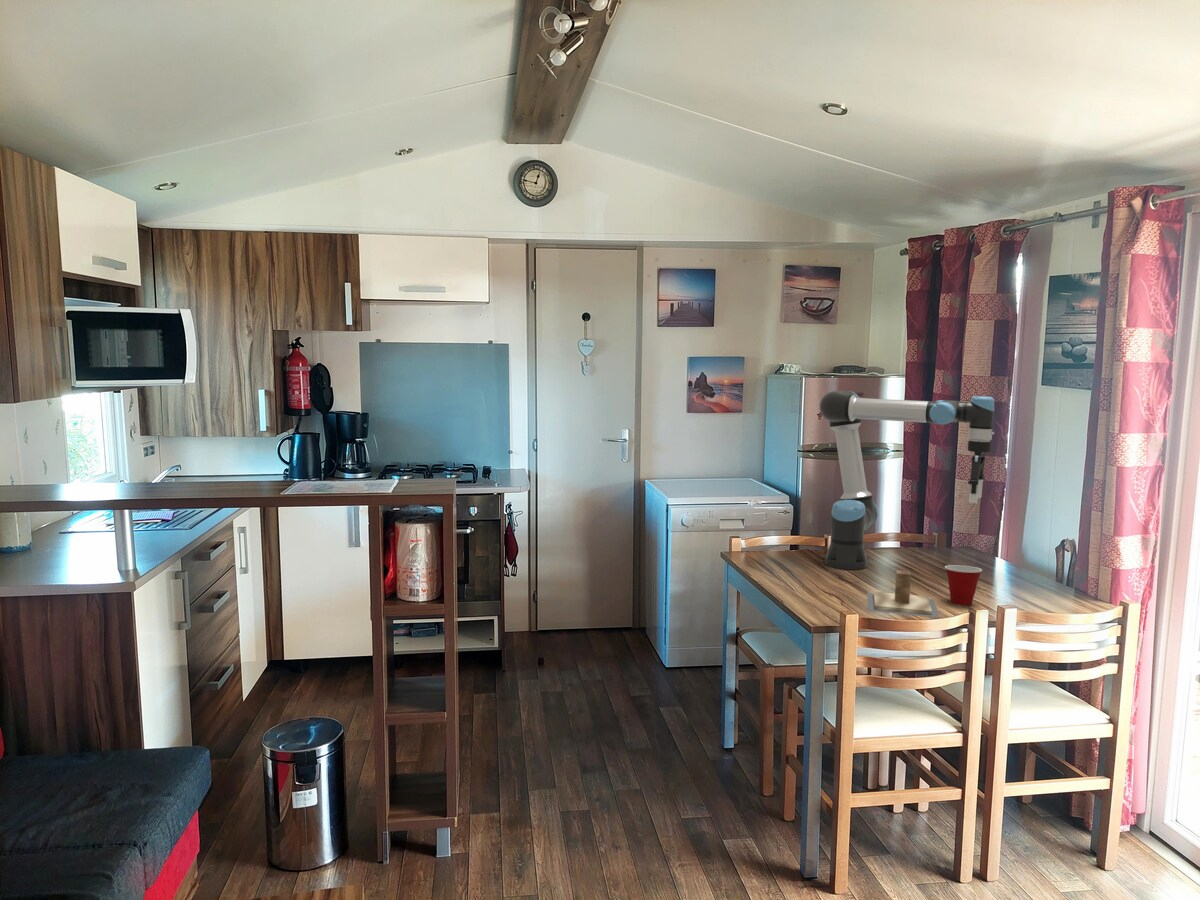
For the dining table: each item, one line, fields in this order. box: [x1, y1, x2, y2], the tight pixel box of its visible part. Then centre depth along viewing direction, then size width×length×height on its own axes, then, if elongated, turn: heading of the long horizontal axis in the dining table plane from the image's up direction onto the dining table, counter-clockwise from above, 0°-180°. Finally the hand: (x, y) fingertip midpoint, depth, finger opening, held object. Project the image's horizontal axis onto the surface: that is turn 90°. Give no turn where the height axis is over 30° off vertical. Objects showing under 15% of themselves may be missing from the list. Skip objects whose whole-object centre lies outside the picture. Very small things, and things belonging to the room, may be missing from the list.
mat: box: [866, 592, 941, 619], centre depth 255 cm, size 20×20×1 cm
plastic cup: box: [944, 564, 983, 606], centre depth 258 cm, size 11×11×12 cm
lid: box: [873, 569, 932, 615], centre depth 254 cm, size 16×16×10 cm
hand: (975, 500), depth 293 cm, fingers open, 13 cm apart
